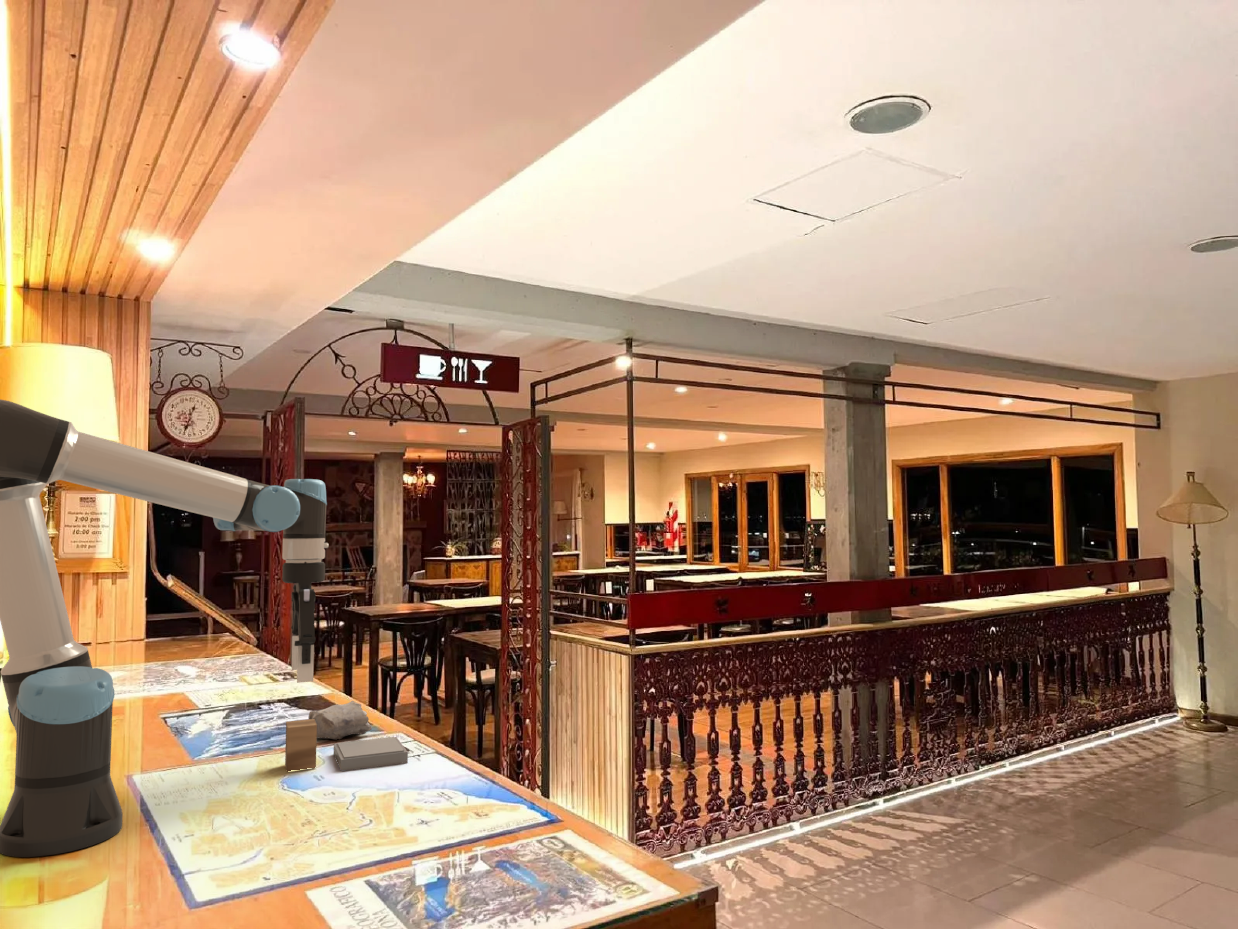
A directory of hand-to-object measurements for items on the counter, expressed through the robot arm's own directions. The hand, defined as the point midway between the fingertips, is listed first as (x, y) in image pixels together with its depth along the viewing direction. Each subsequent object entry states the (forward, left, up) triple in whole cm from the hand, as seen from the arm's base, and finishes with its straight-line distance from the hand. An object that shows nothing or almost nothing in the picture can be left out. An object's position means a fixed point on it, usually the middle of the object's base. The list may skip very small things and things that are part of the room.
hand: (302, 675), depth 157 cm
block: (0, 0, -17) cm, 17 cm away
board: (0, -12, -17) cm, 21 cm away
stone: (+19, -9, -17) cm, 27 cm away
